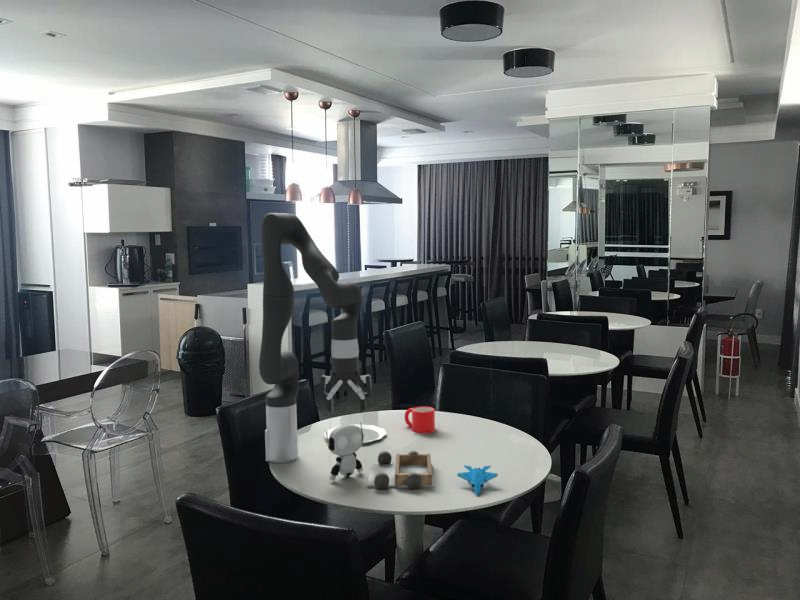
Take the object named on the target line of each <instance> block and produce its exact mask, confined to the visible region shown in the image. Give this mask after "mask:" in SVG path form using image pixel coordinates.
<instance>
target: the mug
mask: <svg viewBox="0 0 800 600" xmlns="http://www.w3.org/2000/svg"><path fill="white" fill-rule="evenodd" d="M435 412H436V411H435V408H434V407H432V406H414V407H410V408H408V409H407V410H406V411H405V413H404V421H405V423H406V425H407V426H408V427H409V428H411V430H412V431H413V432H414V433H416V434H417V433H418V434H430V433H432V432H435V430H436V422H435V421H436V420H435V419H436V415H435V414H436V413H435ZM410 414H411V421H410V418H409V415H410Z"/></svg>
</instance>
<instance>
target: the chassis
mask: <svg viewBox="0 0 800 600" xmlns="http://www.w3.org/2000/svg"><path fill="white" fill-rule="evenodd" d="M392 458H393V457H392V454H391V452H389V451H387V450H383V451H380V452H379V453H378V456H377V462H378V463H371V464H370V470H369V473H368V474H369V475H368V480H367V485H366V486H367V487H366V488H370V489H374V488H376V489H377V490H380V491H382V490H386V489H387V488H388V489H389V488H391V489H393V488H395V489H396V488H400V489H401V488H402V489H403V488H405V489H406V488H408V489H409V490H412V491H415V490H417V489H419V488H422V489H423V488H427V489H428V488H435V482H434V469H433V463H432V460H431V458H432V457H431V453H419V452H418V451H416V450H411V451H409V452H408V453H396V456H395V463H392Z"/></svg>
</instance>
